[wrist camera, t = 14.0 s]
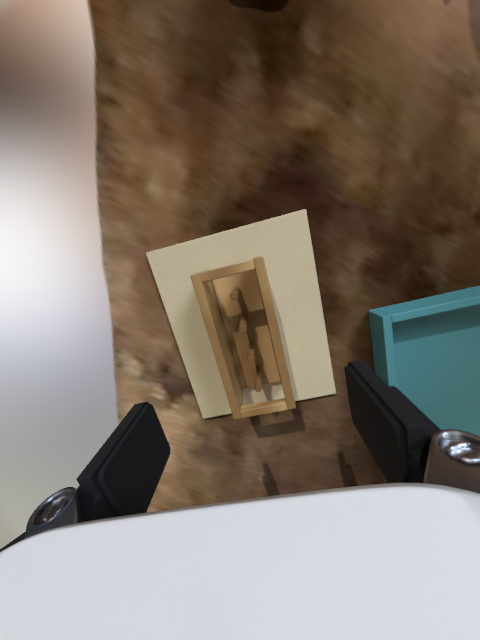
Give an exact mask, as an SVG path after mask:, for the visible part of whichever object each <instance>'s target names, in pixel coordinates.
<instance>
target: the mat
mask: <svg viewBox="0 0 480 640" xmlns="http://www.w3.org/2000/svg"><path fill="white" fill-rule="evenodd" d="M146 255H147V258H148V260H149V263H150V266H151V269H152V272H153V275H154V278H155V281H156V284H157V287H158V289H159V292H160V295H161V298H162V301H163V304H164V307H165V310H166V313H167V315H168V318H169V321H170V324H171V327H172V330H173V333H174V336H175V339H176V341H177V344H178V347H179V350H180V353H181V356H182V359H183V362H184V365H185V368H186V370H187V373H188V376H189V379H190V382H191V385H192V388H193V391H194V394H195V396H196V399H197V402H198V405H199V408H200V411H201V414H202V417H203V419H205V418H210V417H215V416H221V415H226V414H231V413H232V412H231V408H230V405H229V402H228V399H227V395H226V392H225V389H224V385H223V382H222V379H221V376H220V372H219V369H218V366H217V363H216V359H215V356H214V353H213V349H212V346H211V343H210V340H209V336H208V333H207V330H206V326H205V323H204V320H203V317H202V313H201V310H200V307H199V304H198V300H197V297H196V294H195V290H194V287H193V284H192V281H191V277H190V275H193V274H196V273H198V272H201V271H205V270H212V269H216V268H220V267H223V266H227V265H231V264H235V263H239V262H243V261H247V260H250V259H253V258H255V257H259V256H262V257H263V258H264V262H265V267H266V272H267V276H268V281H269V285H270V290H271V294H272V299H273V304H274V308H275V313H276V317H277V322H278V327H279V331H280V336H281V340H282V345H283V349H284V354H285V359H286V363H287V368H288V372H289V377H290V381H291V386H292V391H293V395H294V400H295V401H299V400H304V399H310V398H315V397H320V396H325V395H331V394H336V390H335V384H334V378H333V372H332V366H331V359H330V353H329V347H328V341H327V335H326V329H325V323H324V316H323V310H322V304H321V298H320V292H319V286H318V280H317V273H316V267H315V261H314V255H313V249H312V243H311V237H310V230H309V224H308V218H307V212H306V209H304V210H300V211H296V212H293V213H289V214H286V215H282V216H278V217H275V218H271V219H267V220H264V221H260V222H257V223H253V224H249V225H246V226H242V227H238V228H235V229H231V230H228V231H224V232H220V233H217V234H213V235H209V236H206V237H202V238H199V239H195V240H191V241H188V242H184V243H180V244H177V245H173V246H170V247H166V248H162V249H159V250H155V251H151V252H148V253H146ZM282 398H285V396H284V392H283V388H282V384H281V381H278V382H273V383H268V384H263V385H262V391H261V392H256V391H255V386H254V387H249V388H244V389H243V402H242V406H246V405H251V404H256V403H261V402H266V401H272V400H277V399H282Z"/></svg>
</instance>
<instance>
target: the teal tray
mask: <svg viewBox="0 0 480 640" xmlns="http://www.w3.org/2000/svg"><path fill="white" fill-rule="evenodd" d="M368 312H369V321H370V330H371V340H372V349H373V358H374V367H375V373H376V374H377V375H378V376H379V377H380V378H381V379H382V380H383V381H384V382H385V383H386V384H387V385H388V386H395V387H396V388H398V389H399V390H400V391H401V392H402V393H403V394H404V395H405V396H406V397H407V398H408V399H409V400H410V401H411V402H412V403H414V404H415V405H416V406H417V407H418V408H419V409H420V410H421V411H422V412H423V413H424V414H425V415H426V416H427V417H428V418H429V419H430V420H431V421H432V422H433V423H435V424H436V425H437V426H438V427H439V428H440V429H441V430H445V429H456V430H462V431H466V432H469V433H472V434H475V435H477V436H479V437H480V286H476V287H471V288H467V289H462V290H458V291H453V292H449V293H444V294H440V295H435V296H431V297H426V298H422V299H418V300H413V301H409V302H404V303H400V304H395V305H391V306H386V307H382V308H377V309H373V310H369V311H368ZM387 482H388V481H387Z"/></svg>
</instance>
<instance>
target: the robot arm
mask: <svg viewBox="0 0 480 640" xmlns="http://www.w3.org/2000/svg"><path fill="white" fill-rule="evenodd" d="M345 375H346V382H347V389H348V395H349V402H350V409H351V416H352V420H353V422H354V425H355V426H356V428H357V430H358V431H359V433H360V435H361V437H362V438H363V440H364V442H365V443H366V445H367V447H368V449H369V450H370V452H371V454H372V455H373V457H374V459H375V461H376V462H377V464H378V466H379V467H380V469H381V471H382V473H383V474H384V476H385V478H386V480H387V481H388V483H387V484H372V485H362V486H352V487H343V488H334V489H325V490H317V491H309V492H301V493H293V494H285V495H277V496H269V497H261V498H253V499H245V500H237V501H230V502H222V503H214V504H207V505H199V506H192V507H184V508H177V509H170V510H162V511H155V512H148V513H146V511H147V509H148V506H149V504H150V501H151V499H152V497H153V494H154V492H155V489H156V487H157V485H158V482H159V480H160V477H161V475H162V472H163V470H164V468H165V465H166V463H167V460H168V458H169V455H170V446H169V443H168V441H167V439H166V436H165V434H164V431H163V429H162V427H161V424H160V422H159V419H158V417H157V415H156V412H155V410H154V407H153V405H151V404H149V403H148V402H144V403H139V404H135V405H134V406H133V407H132V408H131V410H130V411H129V412H128V414H127V415H126V416H125V417H124V419H123V420H122V421H121V423H120V424H119V425H118V426H117V428H116V429H115V430H114V432H113V433H112V434H111V436H110V437H109V438H108V439H107V441H106V442H105V443H104V444H103V446H102V447H101V448H100V450H99V451H98V453H97V454H96V455H95V456H94V457H93V459H92V460H91V461H90V462H89V464H88V465H87V466H86V468H85V469H84V470H83V471H82V473H81V474H80V475H79V477H78V478H77V481H78V483H79V485H80V486H79V487H78V488H77V490H76V489H75V488H73V487H67V488H64V489H61V490H59V491H57V492H56V493H54V494H52V495H51V496H50V497H48V498H47V499H46V500H45V501H43V502H42V503H41V504H40V505H39V506H38V508H37V509H36V510H35V511H34V512H33V514H32V515H31V517H30V518H29V521H28V523H27V528H26V532H24V533H23V534H22V535H20V536H19V537H17V538H16V539H14V540H13V541H12V542H10V543H9V544H8V545H6V546H5V547H3V548H2V549H0V640H480V437H479V436H477V435H475V434H472V433H469V432H466V431H462V430H456V429H445V430H441V429H440V428H439V427H438V426H437V425H436V424H435V423H433V422H432V421H431V420H430V419H429V418H428V417H427V416H426V415H425V414H424V413H423V412H422V411H421V410H420V409H419V408H418V407H417V406H416V405H415V404H414V403H412V402H411V401H410V400H409V399H408V398H407V397H406V396H405V395H404V394H403V393H402V392H401V391H400V390H399V389H398V388H396V387H395V386H388V385H387V384H386V383H385V382H384V381H383V380H382V379H381V378H380V377H379V376H378V375H377V374H376V373H375V372H374V371H373V370H372V369H371V368H370V367H369V366H368V365H367V364H366V363H365V362H364V361H363V360H358V361H353V362H349V363H348V366H345Z"/></svg>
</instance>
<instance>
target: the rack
mask: <svg viewBox="0 0 480 640" xmlns="http://www.w3.org/2000/svg"><path fill="white" fill-rule="evenodd" d="M190 277H191V281H192V284H193V287H194V290H195V294H196V297H197V300H198V304H199V307H200V310H201V313H202V317H203V320H204V323H205V326H206V330H207V333H208V336H209V340H210V343H211V346H212V349H213V353H214V356H215V359H216V363H217V366H218V369H219V372H220V376H221V379H222V382H223V385H224V389H225V392H226V395H227V399H228V402H229V405H230V408H231V412H232V415H233V418H234V420H235V419H240V418H246V417H251V416H257V415H262V414H267V413H273V412H278V411H283V410H287V409H288V410H289V409H294V408H296V404H295V400H294V395H293V391H292V386H291V381H290V377H289V372H288V368H287V363H286V359H285V354H284V349H283V345H282V340H281V336H280V331H279V327H278V322H277V317H276V313H275V308H274V304H273V299H272V294H271V290H270V285H269V281H268V276H267V272H266V267H265V262H264V258H263V257H262V256H259V257H255V258H253V259H250V260H247V261H243V262H239V263H235V264H231V265H227V266H223V267H220V268H216V269H212V270H205V271H201V272H198V273H196V274H193V275H190ZM278 381H281V384H282V388H283V392H284V396H285V398H282V399H277V400H272V401H266V402H261V403H256V404H251V405H246V406H242V402H243V389H244V388H249V387H254V386H255V391H256V392H261V391H262V385H263V384H268V383H273V382H278Z"/></svg>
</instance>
